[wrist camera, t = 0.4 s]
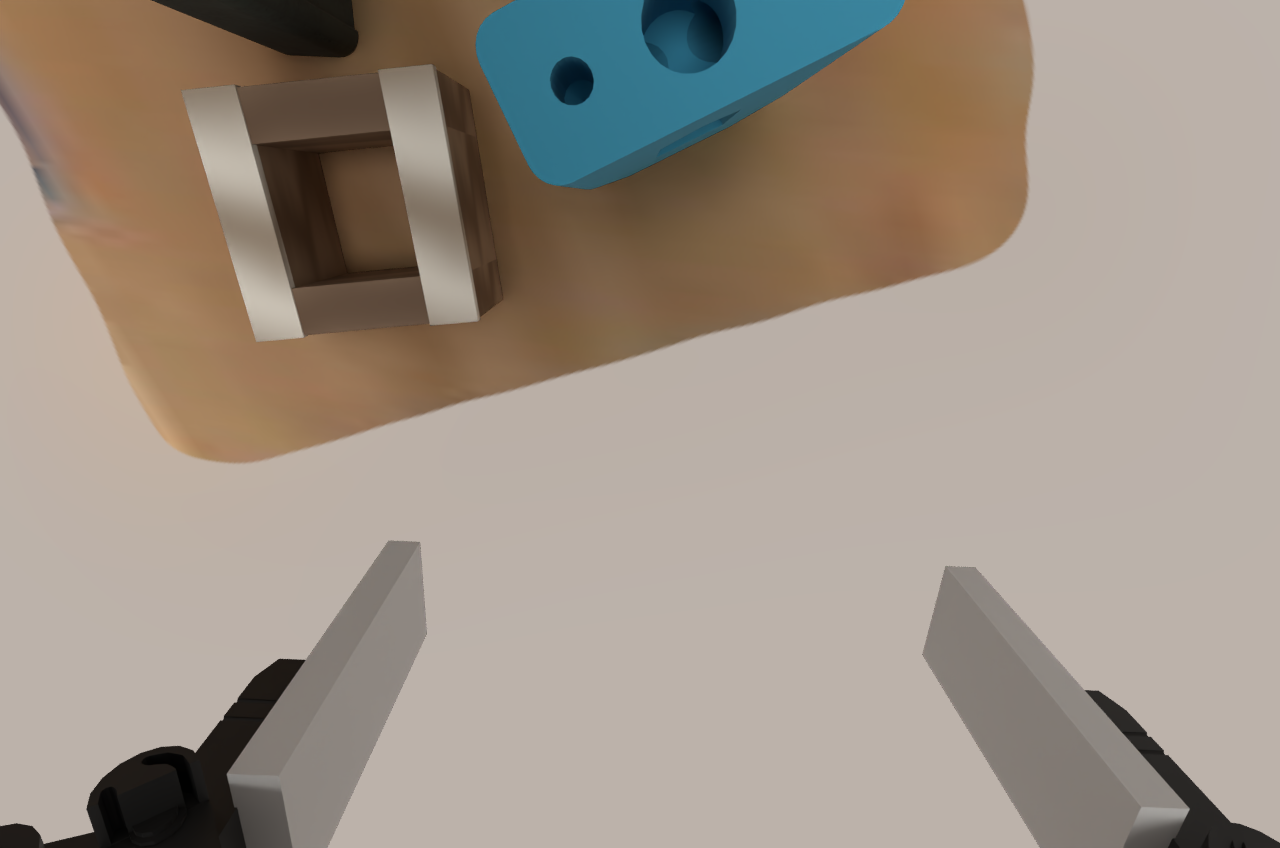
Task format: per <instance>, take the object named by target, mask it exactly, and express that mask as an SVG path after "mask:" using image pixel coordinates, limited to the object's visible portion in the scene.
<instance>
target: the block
mask: <svg viewBox="0 0 1280 848" xmlns="http://www.w3.org/2000/svg"><path fill="white" fill-rule="evenodd" d="M904 1H905V0H515V1H513V2H511V3H509V4H508V5H506V6H504V7H502V8H500V9H498V10H497V11H495V12H493V13H492V14H491V15H489V16H488V17H487V18H486V19H485V20H484V21H483V23H482V24H481V25H480V28H479V31H478V33H477V37H476V53H477V57H478V60H479V63H480V66H481V68H482V70H483V72H484V74H485V76H486V78H487V80H488V82H489V84H490V87H491V89H492V91H493V93H494V95H495V97H496V99H497V101H498V103H499V105H500V107H501V109H502V111H503V114H504V116H505V118H506V120H507V122H508V124H509V126H510V128H511V130H512V132H513V134H514V136H515V139H516V141H517V143H518V145H519V147H520V149H521V151H522V153H523V155H524V157H525V159H526V161H527V163H528V166H529V167H530V169H531V170H532V172H533V173H534V174H535V175H536V176H537V177H538V178H539V179H540V180H542V181H544V182H546V183H548V184H552V185H556V186H564V187H572V188H580V189H594V188H597V187H600V186H603V185H606V184H608V183H611V182H614V181H617V180H620V179H622V178H625V177H628V176H631V175H633V174H635V173H637V172H639V171H641V170H643V169H645V168H647V167H649V166H651V165H653V164H655V163H657V162H659V161H661V160H663V159H665V158H667V157H669V156H671V155H673V154H675V153H677V152H679V151H681V150H683V149H685V148H687V147H689V146H691V145H693V144H695V143H697V142H699V141H701V140H703V139H706V138H708V137H710V136H712V135H714V134H716V133H718V132H720V131H722V130H724V129H726V128H728V127H730V126H732V125H733V124H735V123H737V122H738V121H740V120H742V119H744V118H745V117H747V116H749V115H750V114H752V113H754V112H756V111H757V110H759V109H761V108H763V107H764V106H766V105H768V104H769V103H771V102H773V101H775V100H776V99H778V98H780V97H781V96H783V95H785V94H786V93H788V92H789V91H790V90H792V89H793V88H795V87H796V86H798V85H799V84H801V83H802V82H804V81H805V80H807V79H808V78H810V77H811V76H813V75H814V74H815V73H817V72H818V71H820V70H821V69H823V68H824V67H826V66H827V65H829V64H830V63H832V62H833V61H835V60H836V59H838V58H839V57H840V56H842V55H843V54H845V53H846V52H848V51H849V50H851V49H852V48H854V47H855V46H857V45H858V44H860V43H861V42H862V41H864V40H865V39H867V38H868V37H870V36H871V35H873V34H874V33H876V32H877V31H879V30H880V29H882V28H883V27H885V26H886V25H887V24H889V23H890V22H891V21H892V20H893V19H894V18H895V17H896V16H897V15H898V13H899V12H900V10H901V8H902V6H903V4H904Z"/></svg>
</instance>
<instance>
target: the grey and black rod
mask: <svg viewBox="0 0 1280 848" xmlns="http://www.w3.org/2000/svg"><path fill="white" fill-rule="evenodd" d="M152 1H155V2H157V3H160V4H162V5H164V6H167V7H169V8H172V9H174V10H177V11H179V12H182V13H184V14H187V15H189V16H192V17H194V18H197V19H199V20H202V21H204V22H207V23H209V24H212V25H214V26H217V27H219V28H222V29H224V30H227V31H229V32H232V33H234V34H237V35H239V36H242V37H244V38H246V39H249V40H251V41H254V42H256V43H259V44H261V45H264V46H266V47H269V48H271V49H274V50H276V51H279V52H281V53H284V54H287V55H299V56H324V57H345V56H347V55H349V54H351V53H352V52H353V51H354V49H355V48H356V46H357V42H358V31H356V30H355V29H354V20H353V10H352V0H152Z"/></svg>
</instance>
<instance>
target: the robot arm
mask: <svg viewBox="0 0 1280 848" xmlns="http://www.w3.org/2000/svg"><path fill="white" fill-rule="evenodd" d="M426 634H427V630H426V616H425V602H424V589H423V575H422V561H421V547H420V542H407V541H388V542H387V544H386V545H385V547H384V548H383V550H382V551H381V553H380V554H379V556H378V557H377V558H376V560H375V561H374V563H373V564H372V566H371V567H370V568H369V570H368V571H367V573H366V574H365V576H364V577H363V579H362V580H361V581H360V583H359V584H358V586H357V587H356V589H355V590H354V591H353V593H352V594H351V596H350V597H349V599H348V600H347V602H346V603H345V604H344V606H343V607H342V609H341V610H340V612H339V613H338V614H337V616H336V617H335V619H334V620H333V622H332V623H331V624H330V626H329V627H328V629H327V630H326V632H325V633H324V635H323V636H322V638H321V639H320V640H319V642H318V643H317V645H316V646H315V648H314V649H313V650H312V652H311V653H310V655H309V656H308V658H307V659H306V660H294V659H293V660H292V659H278V660H277V661H275V662H274V663H273V664H271V665H270V666H269V667H267V668H266V669H265V670H263V671H262V672H260V673H259V674H258V675H256V676H255V677H254V678H253V679H252V681H251V682H250V683H249V684H248V686H247V687H246V688H245V690H244V691H243V692H242V693H241V695H240V696H239V698H238V701H237V703H234V704H233V705H232V706H231V708H230V709H229V710H228V712H227V713H226V714H225V715H224V719H223V721H220V722H219V723H218V724H217V726H216V727H215V728H214V730H213V731H212V732H211V733H210V735H209V736H208V737H207V739H206V740H205V741H204V743H203V744H202V745H201V746H200V748H199V749H198V750H197V752H196V753H194V751H193V750H190V749H187V748H184V747H181V746H170V747H159V748H156V749H153V750H150V751H146V752H143V753H140V754H138V755H136V756H134V757H133V758H130V759H129V760H127V761H125V762H123V763H121V764H120V765H118V766H117V767H116V768H114V769H113V770H112V771H111V772H109V773H108V774H107V775H106V776H105V777H103V778H102V779H101V781H100V782H99V783H98V784H97V786H96V787H95V788H94V790H93V791H92V792H91V794H90V797H89V801H88V805H87V811H88V815H89V817H90V820H91V823H92V826H93V829H94V832H93V833H88V834H85V835H80V836H76V837H72V838H67V839H63V840H59V841H55V842H50V843H46V844H43V841H42V839H41V836H40V834H39V833H38V832H37V831H36V830H35V829H34V828H33V826H28V825H22V824H17V823H16V824H11V825H5V826H0V848H327V847H328V845H329V843H330V841H331V839H332V837H333V834H334V832H335V830H336V828H337V826H338V824H339V821H340V819H341V817H342V815H343V813H344V811H345V808H346V806H347V804H348V802H349V800H350V798H351V796H352V793H353V791H354V789H355V787H356V785H357V783H358V781H359V778H360V776H361V774H362V772H363V770H364V768H365V765H366V763H367V761H368V759H369V757H370V755H371V753H372V751H373V748H374V746H375V744H376V742H377V740H378V737H379V736H380V733H381V731H382V729H383V727H384V725H385V723H386V720H387V718H388V716H389V714H390V712H391V710H392V708H393V705H394V703H395V701H396V699H397V697H398V695H399V693H400V690H401V688H402V686H403V684H404V682H405V680H406V678H407V675H408V673H409V671H410V669H411V667H412V665H413V662H414V660H415V658H416V656H417V654H418V652H419V649H420V647H421V645H422V643H423V641H424V639H425V637H426ZM922 655H923V657H924V658H925V660H926V662H927V663H928V665H929V666H930V668H931V670H932V671H933V673H934V675H935V676H936V678H937V679H938V681H939V683H940V685H941V686H942V688H943V689H944V691H945V693H946V694H947V696H948V698H949V699H950V701H951V702H952V704H953V706H954V708H955V709H956V711H957V712H958V714H959V716H960V717H961V719H962V721H963V722H964V724H965V725H966V727H967V729H968V730H969V732H970V734H971V735H972V737H973V739H974V740H975V742H976V744H977V745H978V747H979V749H980V750H981V752H982V753H983V755H984V757H985V758H986V760H987V762H988V763H989V765H990V767H991V768H992V770H993V771H994V773H995V775H996V776H997V778H998V780H999V781H1000V783H1001V784H1002V786H1003V788H1004V790H1005V791H1006V793H1007V794H1008V796H1009V798H1010V799H1011V801H1012V803H1013V804H1014V806H1015V808H1016V809H1017V811H1018V812H1019V814H1020V816H1021V817H1022V819H1023V821H1024V822H1025V824H1026V825H1027V827H1028V829H1029V831H1030V832H1031V834H1032V835H1033V837H1034V839H1035V840H1036V842H1037V844H1038V845H1039V847H1040V848H1280V843H1279V842H1277V841H1275V840H1274V839H1272V838H1270V837H1269V836H1267V835H1265V834H1263V833H1262V832H1260V831H1257V830H1255V829H1252V828H1249V827H1247V826H1244V825H1241V824H1236V823H1231V822H1230V821H1229V820H1228V819H1227V818H1226V817H1225V816H1224V815H1223V814H1222V813H1221V812H1220V810H1218V808H1217V807H1216V806H1215V805H1214V804H1213V803H1212V802H1211V801H1210V800H1209V799H1208V798H1207V797H1206V795H1205V794H1204V793H1203V792H1202V791H1201V790H1200V789H1199V788H1198V787H1197V786H1196V785H1195V784H1194V783H1193V782H1192V780H1191V779H1190V778H1189V777H1188V776H1187V775H1186V774H1185V773H1184V772H1183V771H1182V770H1181V769H1180V768H1179V766H1178V765H1177V764H1176V763H1175V762H1174V761H1173V760H1172V759H1171V758H1170V757H1169V756H1168V755H1165V754H1164V750H1163V749H1162V748H1161V747H1160V746H1159V745H1158V744H1157V743H1156V742H1155V741H1154V740H1153V739H1152V738H1151V737H1148V736H1147V732H1146V731H1145V730H1144V729H1143V728H1142V727H1141V726H1140V725H1139V724H1138V723H1137V721H1136V720H1135V719H1134V718H1133V717H1132V716H1131V715H1130V714H1129V713H1128V712H1127V711H1126V710H1125V709H1123V708H1122V707H1121V706H1119V705H1118V704H1116V703H1115V702H1114V701H1112V700H1111V699H1109V698H1108V697H1106V696H1105V695H1103V694H1102V693H1101V692H1099V691H1089V690H1084V689H1083V688H1082V687H1081V686H1080V685H1079V684H1078V682H1077V681H1076V680H1075V679H1074V678H1073V677H1072V676H1071V675H1070V673H1069V672H1068V671H1067V670H1066V669H1065V668H1064V667H1063V666H1062V665H1061V663H1060V662H1059V661H1058V660H1057V659H1056V658H1055V657H1054V655H1053V654H1052V653H1051V652H1050V651H1049V650H1048V649H1047V648H1046V647H1045V645H1044V644H1043V643H1042V642H1041V641H1040V640H1039V639H1038V637H1037V636H1036V635H1035V634H1034V633H1033V632H1032V631H1031V630H1030V628H1029V627H1027V625H1026V624H1025V623H1024V622H1023V621H1022V620H1021V618H1020V617H1019V616H1018V615H1017V614H1016V613H1015V612H1014V610H1013V609H1012V608H1011V607H1010V606H1009V605H1008V604H1007V603H1006V602H1005V600H1004V599H1003V598H1002V597H1001V596H1000V595H999V593H998V592H996V590H995V589H994V588H993V587H992V586H991V584H990V583H989V582H988V581H987V580H986V579H985V578H984V577H983V576H982V574H981V573H980V572H979V571H978V570H977V569H976V568H974V567H952V566H946V567H945V570H944V574H943V578H942V581H941V585H940V590H939V593H938V597H937V601H936V604H935V608H934V613H933V616H932V620H931V624H930V628H929V631H928V635H927V639H926V643H925V647H924V650H923V654H922Z"/></svg>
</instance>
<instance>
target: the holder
mask: <svg viewBox="0 0 1280 848" xmlns="http://www.w3.org/2000/svg"><path fill="white" fill-rule="evenodd" d="M181 92H182V95H183V99H184V102H185V105H186V109H187V112H188V115H189V119H190V122H191V125H192V129H193V132H194V135H195V139H196V142H197V145H198V149H199V152H200V155H201V159H202V162H203V165H204V169H205V172H206V175H207V179H208V182H209V185H210V189H211V192H212V195H213V199H214V202H215V205H216V209H217V212H218V215H219V219H220V222H221V225H222V229H223V232H224V235H225V239H226V242H227V245H228V249H229V252H230V255H231V259H232V262H233V265H234V269H235V272H236V275H237V279H238V282H239V285H240V289H241V292H242V295H243V299H244V302H245V305H246V309H247V312H248V315H249V319H250V322H251V325H252V329H253V332H254V335H255V339H256V342H261V341H271V340H282V339H293V338H304V337H306V336H308V335H312V334H323V333H334V332H345V331H355V330H366V329H377V328H387V327H398V326H409V325H419V324H430V326H432V325H443V324H454V323H464V322H475V321H479V320H480V317H481V316H482V315H483V314H485V313H486V312H487V311H488V310H490V309H491V308H492V307H494V306H495V305H496V304H497V303H499V302H500V301H501V300H503V295H502V289H501V283H500V277H499V271H498V265H497V259H496V253H495V247H494V240H493V234H492V228H491V222H490V216H489V210H488V204H487V198H486V191H485V185H484V179H483V173H482V167H481V161H480V155H479V149H478V142H477V136H476V130H475V124H474V118H473V112H472V106H471V100H470V94H469V90H468V89H467V88H465V87H463V86H462V85H460V84H459V83H457V82H455V81H454V80H452V79H451V78H449V77H447V76H446V75H444V74H443V73H441V72H440V71H438V70H436V66H435V65H433V64H428V65H419V66H409V67H399V68H390V69H380V70H378V73H370V74H360V75H350V76H341V77H331V78H321V79H312V80H302V81H293V82H283V83H273V84H264V85H254V86H244V87H241V86H238V85H226V86H217V87H207V88H198V89H188V90H181ZM385 146H394V151H395V156H396V161H397V166H398V171H399V176H400V180H401V185H402V190H403V195H404V200H405V205H406V210H407V215H408V219H409V224H410V229H411V234H412V239H413V244H414V249H415V254H416V259H417V263H418V267H408V268H398V269H387V270H377V271H366V272H356V273H347V270H346V266H345V262H344V258H343V254H342V250H341V246H340V242H339V237H338V233H337V229H336V225H335V221H334V217H333V213H332V208H331V204H330V200H329V196H328V192H327V188H326V184H325V180H324V175H323V171H322V167H321V163H320V159H319V155H318V153H326V152H336V151H346V150H356V149H365V148H375V147H385Z"/></svg>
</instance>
